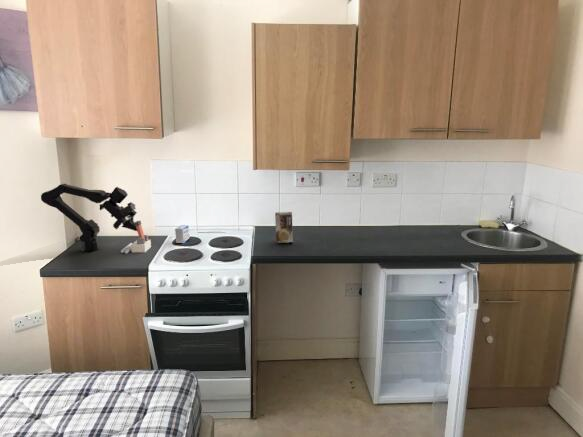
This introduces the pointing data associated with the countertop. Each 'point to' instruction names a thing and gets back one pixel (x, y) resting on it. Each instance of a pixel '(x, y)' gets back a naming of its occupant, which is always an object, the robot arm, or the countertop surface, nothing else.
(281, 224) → the coffee box
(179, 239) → the medicine box
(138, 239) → the switch box
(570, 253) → the countertop surface
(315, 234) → the countertop surface
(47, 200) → the robot arm
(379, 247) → the countertop surface
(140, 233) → the lever
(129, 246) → the cables
